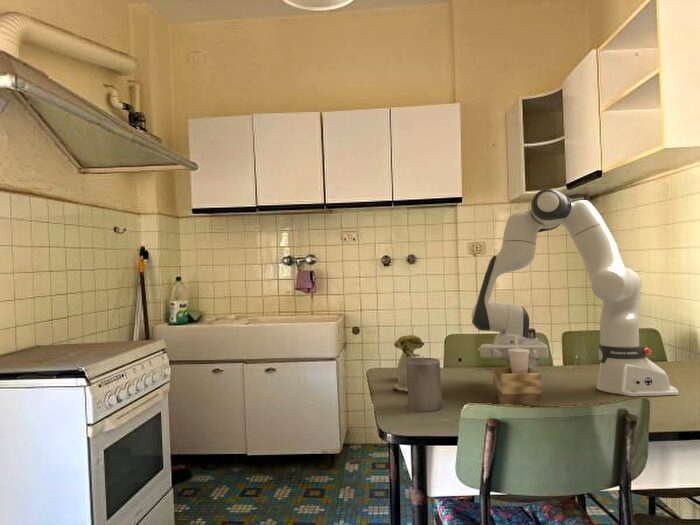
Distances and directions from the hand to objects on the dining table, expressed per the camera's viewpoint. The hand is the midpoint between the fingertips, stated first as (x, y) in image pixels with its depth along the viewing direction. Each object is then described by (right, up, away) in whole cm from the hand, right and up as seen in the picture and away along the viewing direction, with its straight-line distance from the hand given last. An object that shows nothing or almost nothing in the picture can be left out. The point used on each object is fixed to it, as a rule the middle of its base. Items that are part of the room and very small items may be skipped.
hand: (516, 354), depth 153 cm
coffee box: (+19, -15, +48) cm, 54 cm away
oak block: (0, -10, +1) cm, 10 cm away
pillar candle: (-28, -15, -4) cm, 32 cm away
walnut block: (+1, -14, 0) cm, 14 cm away
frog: (-29, -15, +19) cm, 37 cm away
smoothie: (+1, -9, +1) cm, 9 cm away
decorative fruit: (-26, -16, +36) cm, 47 cm away
